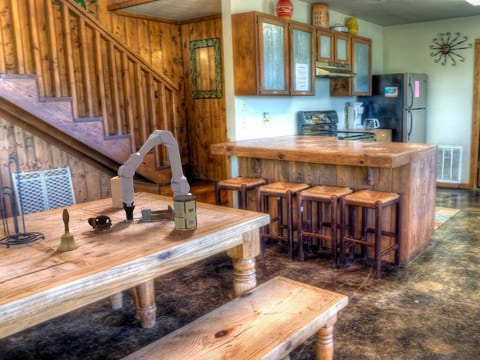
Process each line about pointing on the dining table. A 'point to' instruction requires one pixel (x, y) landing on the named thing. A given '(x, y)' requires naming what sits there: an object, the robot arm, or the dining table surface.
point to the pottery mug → (100, 223)
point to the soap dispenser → (116, 192)
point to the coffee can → (185, 212)
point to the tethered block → (143, 215)
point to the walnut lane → (162, 214)
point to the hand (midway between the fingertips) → (129, 217)
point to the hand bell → (67, 235)
